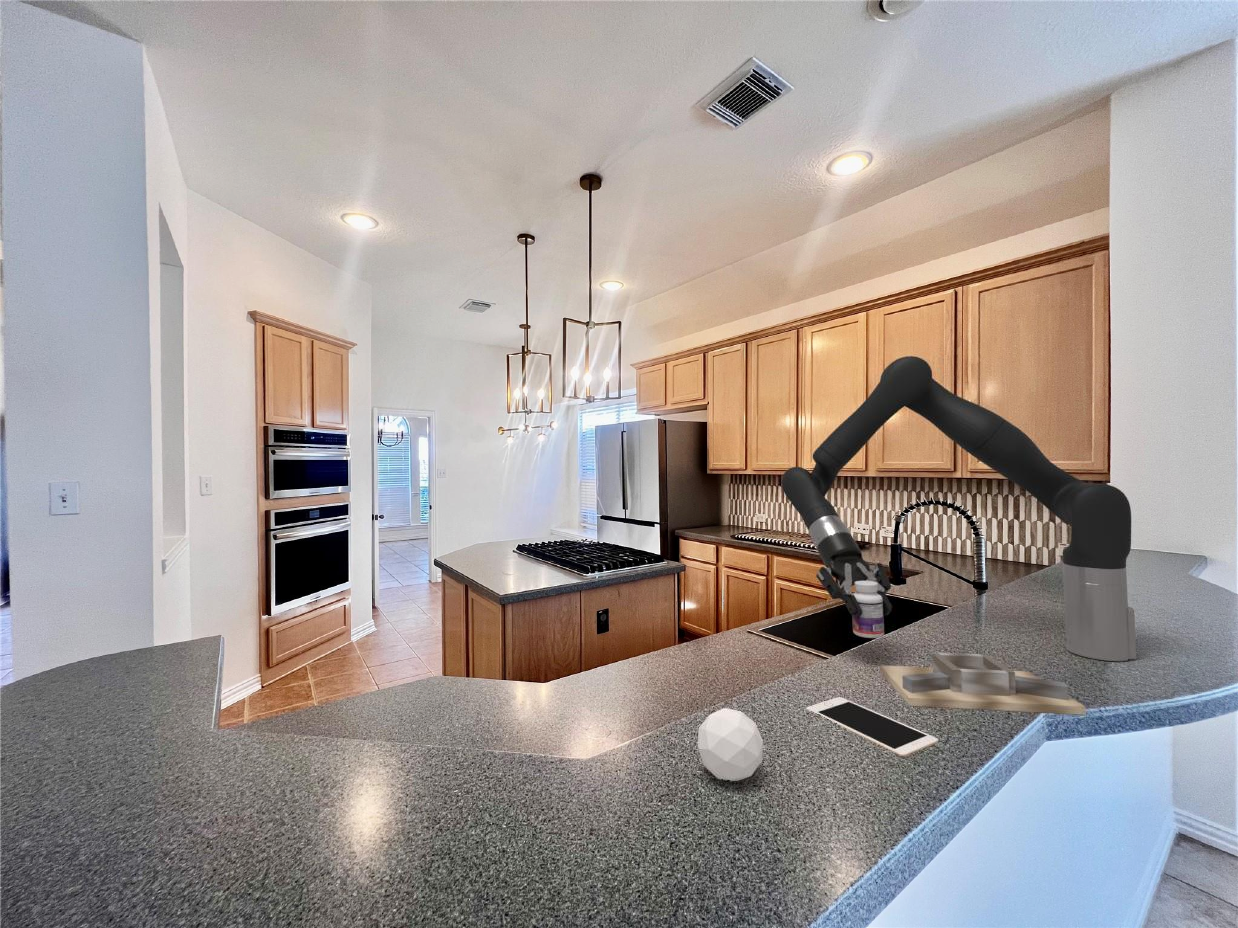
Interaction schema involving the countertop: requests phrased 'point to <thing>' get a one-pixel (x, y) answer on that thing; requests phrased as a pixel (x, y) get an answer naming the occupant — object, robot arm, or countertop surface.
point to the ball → (730, 745)
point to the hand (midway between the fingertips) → (873, 613)
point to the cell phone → (874, 726)
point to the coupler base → (979, 686)
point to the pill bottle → (868, 610)
